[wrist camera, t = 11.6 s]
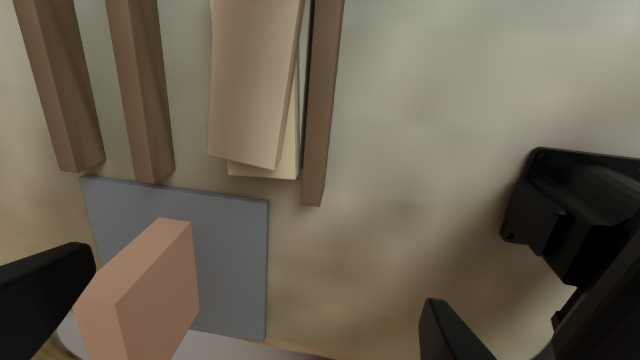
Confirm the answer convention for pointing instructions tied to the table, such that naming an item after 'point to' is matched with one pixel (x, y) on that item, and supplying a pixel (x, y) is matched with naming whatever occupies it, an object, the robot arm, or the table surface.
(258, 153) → the offcut stack
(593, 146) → the table surface
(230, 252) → the charcoal mat
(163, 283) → the terracotta board
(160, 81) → the walnut rack
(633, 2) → the table surface
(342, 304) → the table surface
